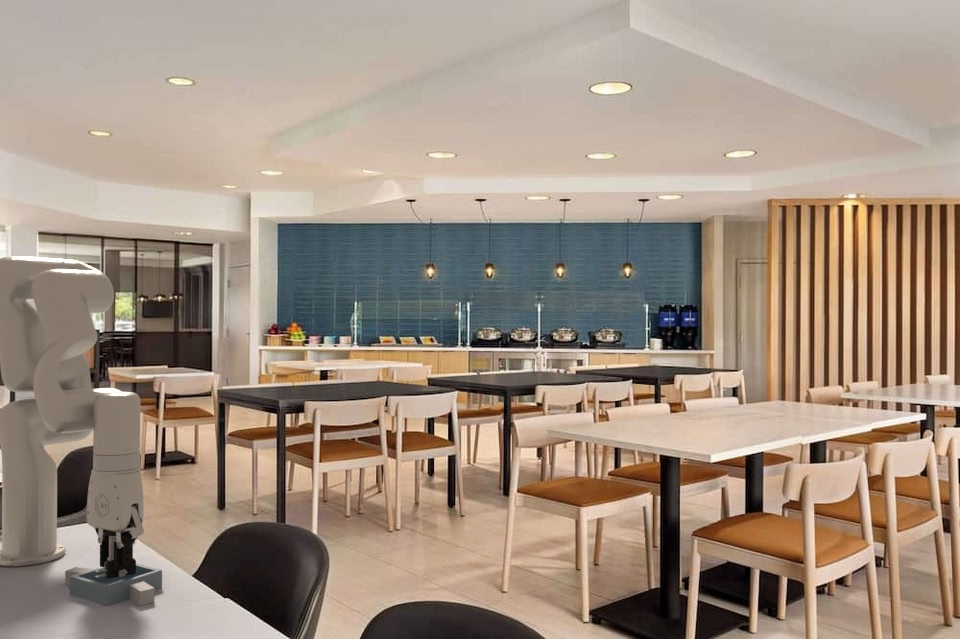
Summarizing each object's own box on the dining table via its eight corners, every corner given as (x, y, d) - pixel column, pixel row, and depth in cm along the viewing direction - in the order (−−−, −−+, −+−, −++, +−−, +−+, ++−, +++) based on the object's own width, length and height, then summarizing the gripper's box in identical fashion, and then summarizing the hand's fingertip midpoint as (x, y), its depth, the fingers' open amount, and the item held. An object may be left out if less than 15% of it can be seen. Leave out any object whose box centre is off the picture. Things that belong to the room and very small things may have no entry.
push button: (100, 583, 134) (100, 525, 134) (91, 576, 138) (91, 519, 138) (140, 575, 138) (140, 519, 138) (130, 568, 142) (131, 513, 142)
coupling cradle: (49, 588, 139) (49, 570, 139) (104, 571, 148) (104, 555, 148) (127, 611, 128) (127, 592, 128) (181, 592, 137) (181, 574, 137)
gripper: (68, 461, 139) (67, 565, 139) (127, 470, 130) (126, 581, 130) (107, 455, 145) (106, 554, 145) (166, 463, 137) (165, 569, 137)
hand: (116, 565), depth 138 cm, fingers closed on push button, 3 cm apart
